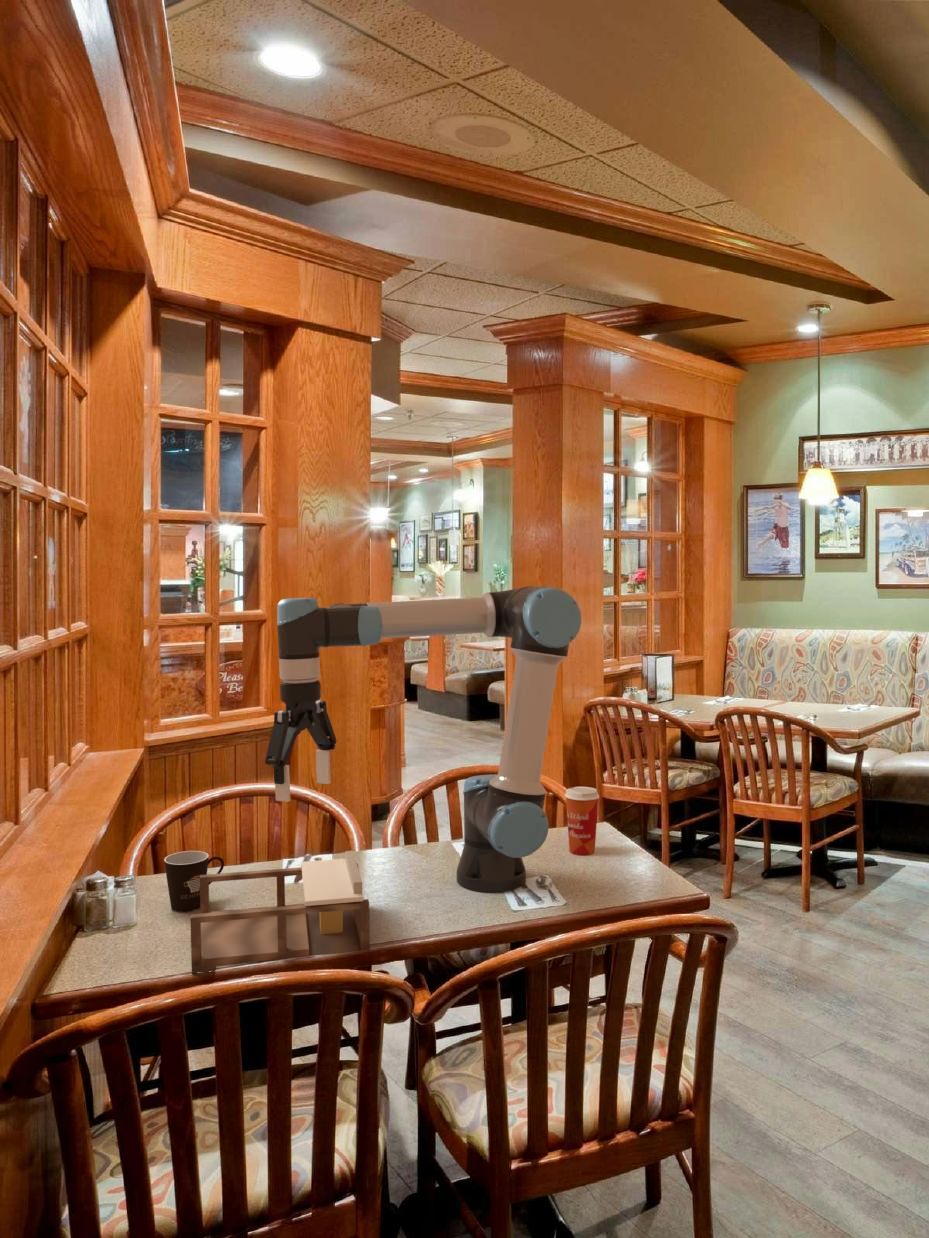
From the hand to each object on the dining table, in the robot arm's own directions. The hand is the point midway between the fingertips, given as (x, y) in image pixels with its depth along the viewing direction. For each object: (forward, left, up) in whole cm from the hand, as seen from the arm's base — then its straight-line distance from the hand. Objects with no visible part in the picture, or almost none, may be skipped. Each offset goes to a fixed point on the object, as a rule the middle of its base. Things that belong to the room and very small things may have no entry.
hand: (304, 791), depth 168 cm
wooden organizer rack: (+5, +5, -26) cm, 27 cm away
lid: (-4, +5, -16) cm, 17 cm away
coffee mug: (+22, -16, -26) cm, 38 cm away
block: (-4, +5, -25) cm, 26 cm away
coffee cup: (-66, -30, -26) cm, 77 cm away
